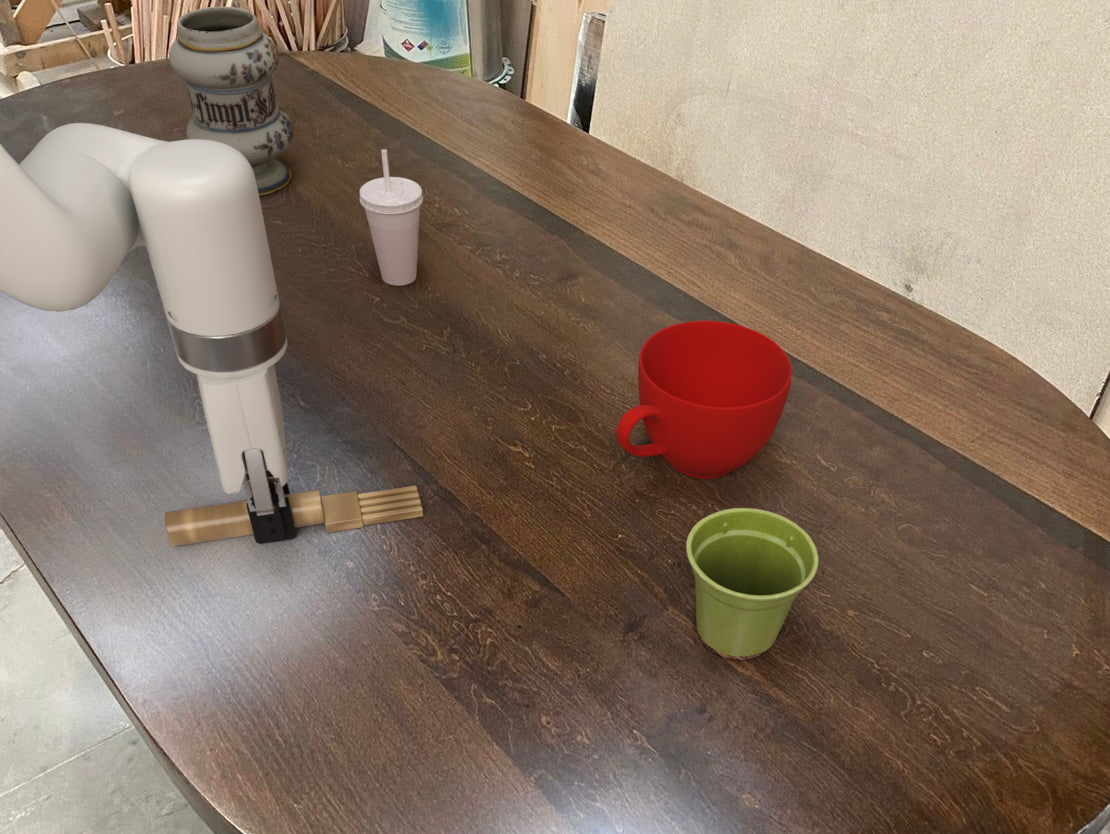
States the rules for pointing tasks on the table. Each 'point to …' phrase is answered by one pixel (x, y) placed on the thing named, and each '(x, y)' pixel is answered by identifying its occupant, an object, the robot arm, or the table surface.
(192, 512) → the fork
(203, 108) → the apothecary jar
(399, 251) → the smoothie
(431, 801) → the table surface
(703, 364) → the ceramic cup
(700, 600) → the plant pot
